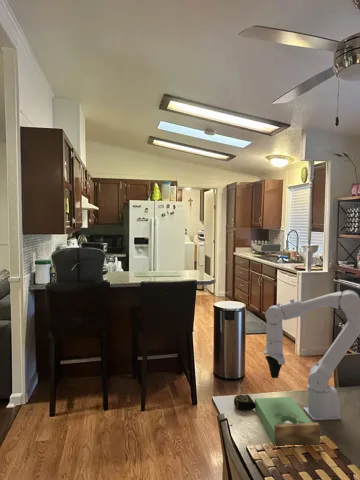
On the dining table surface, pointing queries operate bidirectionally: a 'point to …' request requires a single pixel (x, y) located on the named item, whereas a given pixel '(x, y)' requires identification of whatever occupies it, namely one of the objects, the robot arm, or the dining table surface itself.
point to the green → (279, 414)
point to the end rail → (297, 433)
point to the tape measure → (244, 402)
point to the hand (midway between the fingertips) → (274, 377)
